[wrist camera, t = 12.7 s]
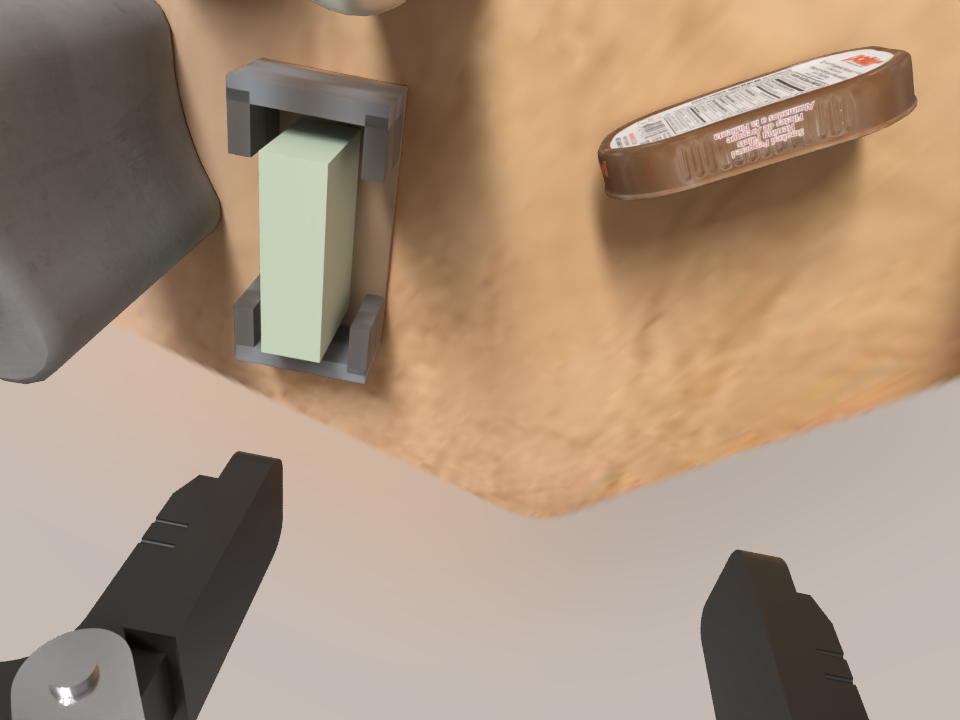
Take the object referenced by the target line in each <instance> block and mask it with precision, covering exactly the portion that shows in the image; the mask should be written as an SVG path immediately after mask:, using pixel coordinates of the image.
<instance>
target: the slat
mask: <svg viewBox="0 0 960 720" xmlns="http://www.w3.org/2000/svg"><path fill="white" fill-rule="evenodd" d="M360 137H361V129H358V128H353V127H347V126H342V125H337V124H332V123H326V122H321V121H316V120H311V119H305V118H301V119H300V120H298V121H297V122H296V123H294V124H293V125H292V126H291V127H289V128H288V129H287V130H285V131H284V132H283V133H281V134H280V135H279V136H277V137H276V138H275V139H274V140H272V141H271V142H270V143H268V144H267V145H266V146H264V147H263V148H262V149H260V150H259V151H258V152H259V223H260V293H261V352H264V353H269V354H275V355H280V356H285V357H291V358H296V359H302V360H307V361H312V362H318V363H320V361H321V359H322V358H323V356H324V354H325V352H326V350H327V348H328V346H329V344H330V342H331V341H332V339H333V337H334V335H335V333H336V331H337V329H338V327H339V326H340V324H341V322H342V320H343V318H344V316H345V314H346V312H347V310H348V309H349V302H350V287H351V272H352V257H353V242H354V227H355V212H356V197H357V182H358V167H359V152H360Z"/></svg>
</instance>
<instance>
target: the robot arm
mask: <svg viewBox="0 0 960 720" xmlns="http://www.w3.org/2000/svg"><path fill="white" fill-rule="evenodd" d="M282 520H283V468H282V461H281V460H280V459H276V458H272V457H266V456H261V455H256V454H251V453H246V452H241V451H239V452H236V453H235V454H234V455H233V456H232V458H231V459H230V461H229V462H228V464H227V465H226V467H225V468H224V470H223V472H222V473H221V475H220V476H219V478H213V477H208V476H203V475H199V476H197V477H196V478H195V479H193V480H192V481H190V482H189V483H188V484H186V485H185V486H183V487H182V488H180V489H179V490H177V491H176V492H175V493H173V494H172V496H171V497H170V499H169V500H168V502H167V503H166V504H165V506H164V507H163V509H162V510H161V512H160V513H159V514H158V516H157V517H156V521H155V523H152V524H151V526H150V527H149V529H148V530H147V531H146V533H145V534H144V536H143V537H142V541H141V543H138V544H137V546H136V547H135V548H134V550H133V552H132V553H131V554H130V556H129V557H128V558H127V560H126V561H125V563H124V564H123V566H122V567H121V569H120V570H119V571H118V573H117V574H116V576H115V577H114V578H113V580H112V581H111V583H110V584H109V586H108V587H107V588H106V590H105V591H104V593H103V594H102V596H101V597H100V598H99V600H98V601H97V603H96V604H95V605H94V607H93V608H92V610H91V611H90V613H89V614H88V615H87V617H86V618H85V619H84V621H83V622H82V623H81V624H80V625H79V626H78V627H77V628H76V629H75V630H74V631H71V632H68V633H65V634H62V635H60V636H57V637H56V638H54V639H52V640H50V641H48V642H47V643H45V644H44V645H42V646H41V647H39V648H38V649H37V650H36V651H35V652H33V653H32V654H31V655H30V656H29V657H25V658H22V659H18V660H12V661H6V662H0V720H196V719H197V717H198V715H199V713H200V711H201V709H202V706H203V704H204V702H205V700H206V698H207V696H208V694H209V692H210V689H211V687H212V685H213V683H214V681H215V679H216V676H217V675H218V673H219V670H220V668H221V666H222V664H223V662H224V660H225V658H226V656H227V653H228V651H229V649H230V647H231V645H232V643H233V641H234V639H235V636H236V634H237V632H238V630H239V628H240V626H241V624H242V622H243V619H244V617H245V615H246V613H247V611H248V609H249V607H250V604H251V603H252V600H253V598H254V596H255V594H256V592H257V590H258V588H259V585H260V583H261V581H262V579H263V577H264V575H265V573H266V570H267V569H268V566H269V564H270V562H271V560H272V558H273V555H274V553H275V551H276V548H277V545H278V542H279V538H280V534H281V529H282ZM701 641H702V647H703V652H704V657H705V663H706V668H707V673H708V678H709V684H710V689H711V694H712V700H713V705H714V710H715V716H716V720H869V719H868V716H867V713H866V711H865V708H864V705H863V703H862V700H861V698H860V695H859V692H858V690H857V687H856V685H853V677H852V674H851V671H850V669H849V666H848V663H847V661H846V660H844V659H843V654H844V653H843V650H842V648H841V645H840V643H839V640H838V637H837V635H836V632H835V630H834V627H833V624H832V623H831V621H830V620H829V619H828V617H827V616H826V615H825V614H824V612H823V611H822V610H821V608H820V607H819V606H818V605H817V603H816V602H815V601H814V599H813V598H812V597H811V596H810V595H806V594H802V593H797V592H796V589H795V587H794V584H793V581H792V578H791V575H790V572H789V569H788V567H787V564H786V563H785V561H784V560H783V559H781V558H779V557H773V556H768V555H763V554H758V553H753V552H748V551H743V550H735V551H734V552H733V553H732V554H731V556H730V557H729V559H728V561H727V563H726V565H725V567H724V569H723V571H722V573H721V575H720V576H719V579H718V580H717V582H716V584H715V586H714V588H713V590H712V592H711V594H710V596H709V597H708V599H707V601H706V603H705V606H704V609H703V613H702V618H701Z"/></svg>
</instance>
